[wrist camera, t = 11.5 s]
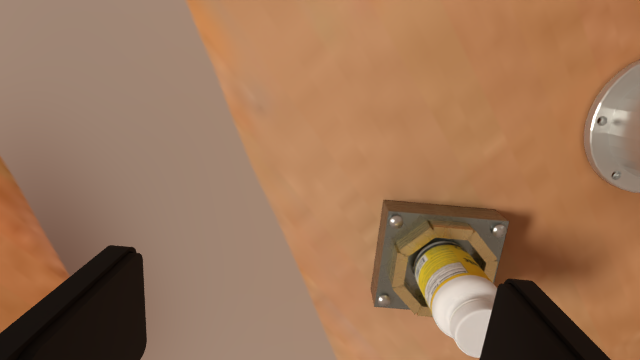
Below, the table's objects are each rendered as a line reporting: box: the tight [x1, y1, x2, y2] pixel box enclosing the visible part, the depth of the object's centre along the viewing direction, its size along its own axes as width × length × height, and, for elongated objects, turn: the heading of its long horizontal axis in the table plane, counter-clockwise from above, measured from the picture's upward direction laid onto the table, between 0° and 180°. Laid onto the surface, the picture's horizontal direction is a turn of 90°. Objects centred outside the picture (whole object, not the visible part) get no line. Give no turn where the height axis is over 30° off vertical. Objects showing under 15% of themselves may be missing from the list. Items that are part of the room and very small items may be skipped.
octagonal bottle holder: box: [371, 200, 509, 317], centre depth 36 cm, size 11×10×5 cm
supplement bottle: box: [413, 241, 497, 358], centre depth 31 cm, size 5×5×10 cm
